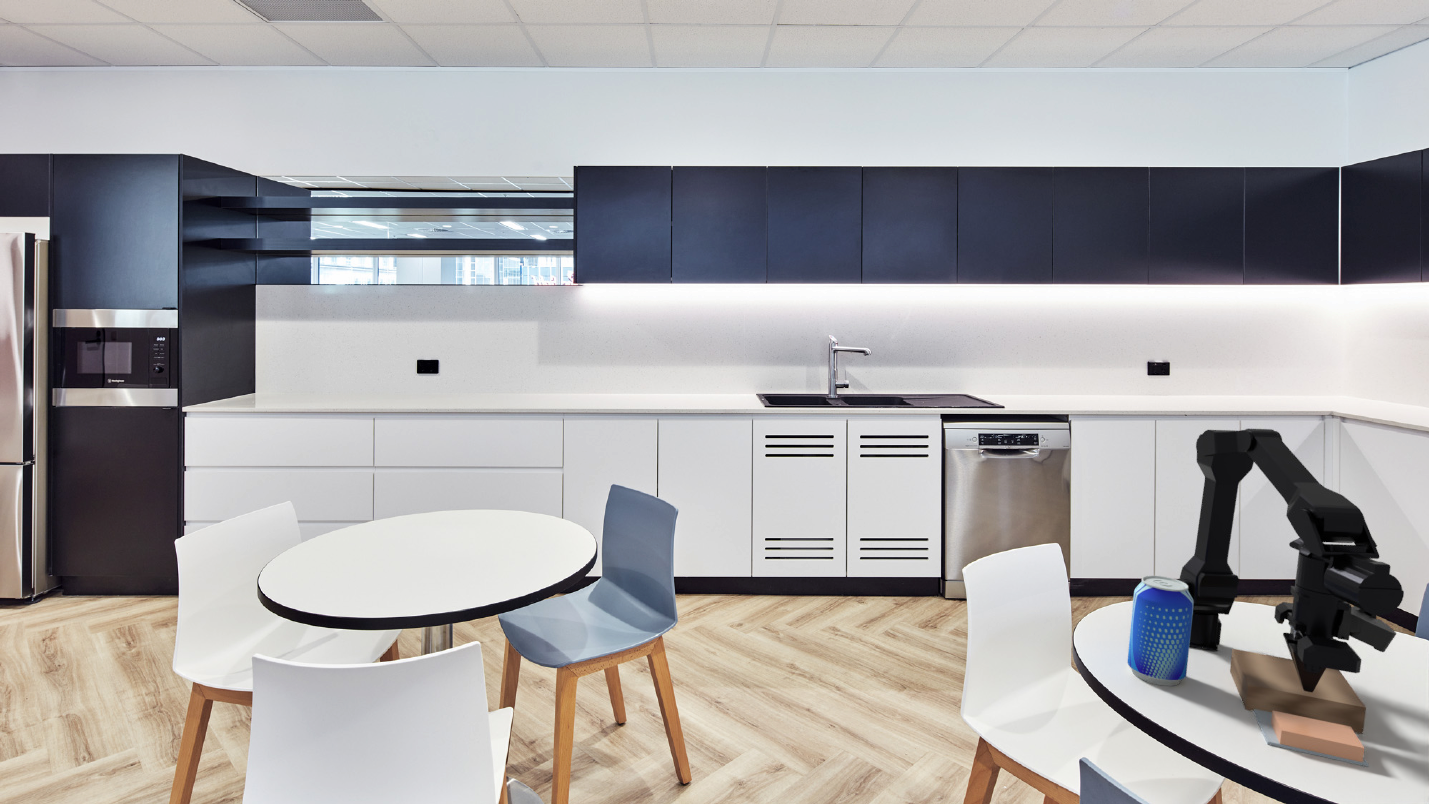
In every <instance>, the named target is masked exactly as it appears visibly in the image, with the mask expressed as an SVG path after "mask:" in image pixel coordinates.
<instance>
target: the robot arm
mask: <svg viewBox="0 0 1429 804" xmlns="http://www.w3.org/2000/svg"><path fill="white" fill-rule="evenodd" d="M1195 448H1196V463H1197V465H1198V467H1199V469H1200V470H1201V472H1202V474H1203V476H1204V482H1203V483H1204V484H1203V490H1202V496H1201V504H1200V512H1199V513H1200V514H1199V520H1198V528H1197V535H1196V542H1195V549H1194V555H1193V556H1192V557H1191V558H1190V559H1189V560H1187V562H1186V563H1185V564H1184V565H1183V566H1182V569H1181V572H1180V574H1179V578H1178V580H1179V581H1182V582H1184V583H1185V584H1187V585H1188V591H1189V593H1190V595H1191V597H1192V598H1193V601H1194V605H1193V615H1192V625H1191V634H1190V644H1189V647H1192V648H1197V649H1202V650H1209V651H1212V652H1217V651H1218V646H1219V645H1220V641H1221V635H1222V634H1221V633H1222V625H1223V623H1222V621H1221V619H1220V618H1219V617H1220V615H1225V616H1226V615H1227V616H1228V615H1230V612H1231V610H1232V607H1233V605H1234V603H1235V599H1237V598H1238V585H1239V582H1240V578H1239V576H1238V575H1237V574H1236V573H1235V574H1234V572H1233V569H1232V568H1231V567H1230V565H1229V563H1228V561H1229V560H1228V559H1229V552H1230V546H1231V538H1232V531H1233V524H1234V517H1235V511H1236V505H1237V497H1238V491H1239V484H1240V483H1241V481H1242V480H1243V479H1244V478H1245V477H1246V476H1247V475H1248V474H1249V473H1250V472H1251V471H1252V469H1253V466H1254V464H1255V465H1256V466H1257V467H1258V469H1260V471H1261V472H1262V473H1263V474H1264V476H1265V477H1266V479H1267V480H1268V481H1269V482H1270V483H1271V484H1272V486H1273V487H1274V488H1275V489H1276V491H1277V492H1278V493H1279V494H1280V496H1281V497H1282V498H1283V499H1284V501H1285V503H1286V504H1287V507H1286V515H1285V516H1286V518H1287V520H1288V521H1289V523H1290V525H1291V527H1292V528H1293V530H1294V532H1295V533H1296V535H1297V537H1299V538H1297V539H1294V540H1292V541H1290V542H1289V543H1288V544H1289V547H1290V548H1292V549H1294V550H1296V551H1298V557H1297V558H1298V559H1297V566H1296V571H1295V572H1296V574H1295V583H1294V585H1290V589H1289V590H1290V594H1291V596H1292V597H1293V599H1292V602H1286V601H1282V602H1280V603H1279V604H1277V605H1276V606H1275V610H1274V617H1273V618H1274V620H1275V621H1276V623H1277V624H1279V625H1280V624H1281V625H1283V624H1284V622H1285V620H1287V621H1288V625H1289V627H1290V631H1289V632H1283V633H1282V634H1283V635H1282V636H1283V638H1284V641H1285V643H1286V646H1287V649H1288V653H1289V655H1290V657H1291V659H1292V660H1293V663H1294V666H1295V668H1296V671H1297V674H1298V677H1299V680H1300V683H1301V686H1302V688H1303V690H1304V691H1307V692H1313V691H1314V689H1315V688H1316V686H1317V684H1318V682H1319V680H1320V678H1321V677H1322V675H1323V673H1324V671H1325V670H1326V668H1329V669H1335V670H1339V671H1340V672H1341V671H1343V672H1346V673H1351V674H1352V673H1353V674H1359V673H1360V672H1361V667H1362V666H1361V665H1362V658H1361V657H1360V655H1358V653H1357V651H1355V650H1354V648H1352V646H1350V644H1349V643H1348V642H1346V641H1350V637H1351V638H1353V639H1356V640H1358V641H1360V642H1362V643H1364V644H1367V645H1368V646H1370V647H1372V648H1373V649H1374V650H1376V651H1379V652H1380V653H1385V651H1386V650H1387V649H1388V647H1389V645H1390V644H1391V643H1392V642H1393V640H1394V639H1395V637H1396V635H1397V632H1396V631H1395V630H1393V628H1391V626H1390V625H1388V623H1385V622H1384V621H1383V620H1381V619H1380V618H1377V616H1385V615H1388V614H1391V613H1392V612H1394V611H1396V610H1397V608H1399V607H1400V605H1401V604H1402V602H1403V598H1404V595H1405V593H1404V592H1405V591H1404V590H1403V586H1402V584H1401V582H1400V581H1399V580H1398V578H1397V577H1395V576H1394V575H1392V574H1391V565H1390V564H1389V563H1386V562H1384V561H1377V560H1378V559H1380V554H1379V551H1378V549H1377V547H1378V545H1377V543H1376V541H1375V540H1374V538H1373V536H1372V534H1371V531H1370V529H1369V527H1368V524H1367V522H1366V520H1365V519H1366V518H1365V516H1364V513H1363V512H1362V511H1361V509H1360V508H1359V507H1358V506H1357V505H1355V504H1354V503H1353V501H1350V500H1349V499H1348V498H1347V497H1346V496H1344V495H1343V494H1341V493H1338V492H1336V491H1334V490H1331V489H1330V488H1327V487H1325V486H1324V485H1322V484H1321V483H1320V482H1319V481H1318V480H1317V479H1316V477H1314V475H1313V474H1312V473H1311V472H1310V471H1309V470H1308V469H1307V467H1306V466H1305V465H1304V464H1303V463H1302V462H1301V460H1300V459H1299V458H1298V457H1297V456H1296V455H1295V454H1294V453H1293V452H1292V451H1291V449H1290V448H1289V447H1288V446H1287V445H1286V444H1285V443H1284V441H1283V437H1282V435H1281V433H1280V432H1279V431H1278V430H1274V429H1271V428H1245V429H1242V430H1233V429H1232V430H1230V429H1229V430H1228V429H1222V430H1221V429H1207V430H1205V431H1203V433H1201V434H1199V435H1198V437H1197V439H1196V443H1195ZM1334 543H1335V544H1334ZM1338 543H1339V544H1338ZM1340 543H1341V544H1340ZM1219 614H1220V615H1219ZM1342 640H1345V641H1342Z"/></svg>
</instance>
